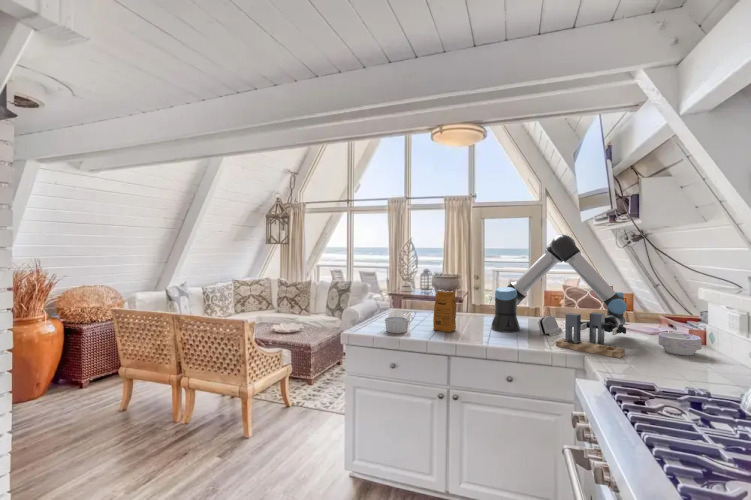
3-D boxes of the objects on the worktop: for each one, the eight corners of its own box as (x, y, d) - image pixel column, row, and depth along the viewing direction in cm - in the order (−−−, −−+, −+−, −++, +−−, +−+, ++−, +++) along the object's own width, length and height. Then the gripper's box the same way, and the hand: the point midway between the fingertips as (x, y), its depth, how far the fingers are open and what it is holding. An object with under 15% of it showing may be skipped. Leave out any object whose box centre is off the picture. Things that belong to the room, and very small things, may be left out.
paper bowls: (649, 348, 177) (650, 331, 177) (680, 348, 178) (680, 331, 178) (677, 358, 162) (677, 339, 162) (711, 357, 163) (711, 339, 163)
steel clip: (589, 345, 181) (589, 313, 180) (592, 344, 184) (593, 312, 184) (600, 347, 177) (601, 314, 177) (604, 346, 180) (604, 313, 180)
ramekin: (408, 329, 214) (409, 316, 214) (408, 334, 201) (408, 321, 201) (385, 328, 216) (385, 316, 215) (383, 333, 202) (383, 320, 202)
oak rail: (556, 346, 179) (556, 341, 179) (562, 343, 185) (562, 338, 185) (619, 358, 161) (619, 352, 161) (624, 354, 166) (624, 348, 166)
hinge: (550, 336, 200) (544, 317, 202) (541, 337, 203) (535, 319, 205) (562, 331, 211) (556, 313, 214) (554, 332, 215) (548, 315, 217)
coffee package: (438, 327, 220) (438, 289, 219) (458, 330, 212) (458, 291, 212) (430, 330, 212) (430, 290, 211) (450, 333, 204) (451, 292, 204)
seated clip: (565, 346, 178) (565, 314, 178) (569, 345, 182) (569, 312, 181) (576, 349, 174) (577, 315, 174) (580, 347, 178) (580, 314, 178)
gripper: (638, 335, 185) (627, 342, 170) (583, 327, 203) (568, 333, 188) (639, 320, 185) (627, 326, 170) (583, 313, 203) (569, 318, 188)
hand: (596, 329), depth 179 cm, fingers open, 13 cm apart
